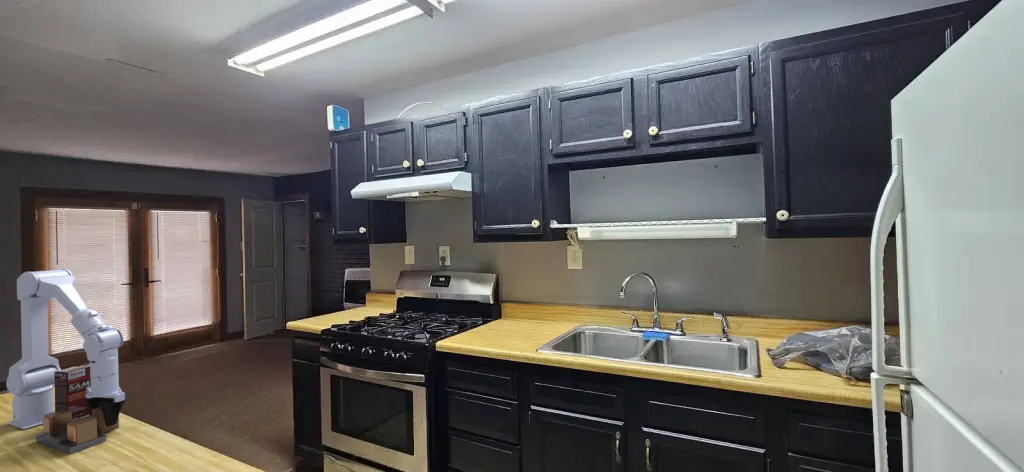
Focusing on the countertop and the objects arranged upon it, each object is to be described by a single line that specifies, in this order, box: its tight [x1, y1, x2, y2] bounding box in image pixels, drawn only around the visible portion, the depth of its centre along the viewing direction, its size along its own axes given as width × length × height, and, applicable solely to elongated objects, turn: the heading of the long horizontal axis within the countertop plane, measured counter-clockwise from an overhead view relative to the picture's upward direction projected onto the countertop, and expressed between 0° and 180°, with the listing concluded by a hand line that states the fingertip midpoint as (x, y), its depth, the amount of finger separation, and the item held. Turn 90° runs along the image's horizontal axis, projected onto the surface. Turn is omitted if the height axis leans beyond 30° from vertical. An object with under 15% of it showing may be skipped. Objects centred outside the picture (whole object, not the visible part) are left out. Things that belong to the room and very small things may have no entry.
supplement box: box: [54, 362, 93, 421], centre depth 129 cm, size 9×5×16 cm, turn 168°
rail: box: [35, 409, 107, 455], centre depth 118 cm, size 17×7×6 cm, turn 67°
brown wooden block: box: [92, 407, 120, 434], centre depth 125 cm, size 4×4×6 cm
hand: (106, 423), depth 125 cm, fingers closed on brown wooden block, 4 cm apart
